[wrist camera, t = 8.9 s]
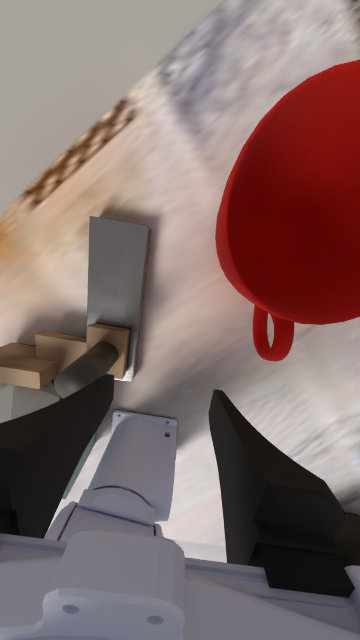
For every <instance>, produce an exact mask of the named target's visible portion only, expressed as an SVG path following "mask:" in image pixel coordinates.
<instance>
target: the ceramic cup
mask: <svg viewBox="0 0 360 640" xmlns="http://www.w3.org/2000/svg"><path fill="white" fill-rule="evenodd" d="M215 238H216V248H217V255H218V258H219V262H220V265H221V268H222V270H223V272H224V274H225V275H226V277H227V279H228V280H229V282H230V283H231V284H232V285H233V286H234V288H235V289H236V290H237V291H238V292H239V293H240V294H242V295H243V296H244V297H245V298H247V299H248V300H249V301H251V302H252V303H253V304H255V307H254V317H253V339H254V344H255V348H256V351H257V352H258V354H259V355H260V356H261V357H262V358H263V359H265V360H269V361H280V360H282V359H284V358H285V357H286V356H287V355H288V353H289V351H290V349H291V346H292V343H293V337H294V322H297V323H301V324H317V325H324V324H331V323H338V322H344V321H347V320H350V319H354V318H357V317H360V60H357V61H352V62H348V63H344V64H339V65H335V66H333V67H331V68H329V69H327V70H325V71H322V72H320V73H318V74H316V75H314V76H312V77H310V78H308V79H306V80H305V81H304V82H302V83H301V84H299V85H298V86H297V87H295V88H294V89H293V90H291V91H290V92H289V93H287V94H286V95H284V96H283V97H282V98H281V99H280V100H279V101H278V102H277V103H276V105H275V106H274V107H273V108H272V109H271V110H270V111H269V112H268V113H267V114H266V115H265V116H264V117H263V118H262V119H261V120H260V122H259V123H258V125H257V126H256V128H255V129H254V131H253V132H252V134H251V135H250V137H249V138H248V140H247V141H246V143H245V144H244V146H243V148H242V150H241V152H240V154H239V156H238V158H237V160H236V163H235V165H234V167H233V169H232V171H231V173H230V176H229V178H228V181H227V183H226V187H225V190H224V193H223V197H222V201H221V204H220V208H219V212H218V216H217V224H216V236H215ZM268 312H269V314H270V315H271V317H272V320H273V324H274V340H273V344H272V347H271V348H270V345H269V342H268V336H267V318H268Z"/></svg>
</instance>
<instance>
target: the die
mask: <svg viewBox="0 0 360 640" xmlns="http://www.w3.org/2000/svg"><path fill="white" fill-rule="evenodd" d="M59 399H60V397H59V395H58V394H57V392H56V390H55V388H54V386H53V384H52V382H51V381H50V382H49V383H47V384H46V385H45V386H44V387H42V388H41V389H35V388H28V387H22V386H16V385H9V384H3V383H0V423H2V422H5V421H9V420H12V419H15V418H18V417H21V416H24V415H26V414H29V413H31V412H34V411H37V410H39V409H42V408H44V407H46V406H49V405H51V404H53V403H55V402H57V401H59Z"/></svg>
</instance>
